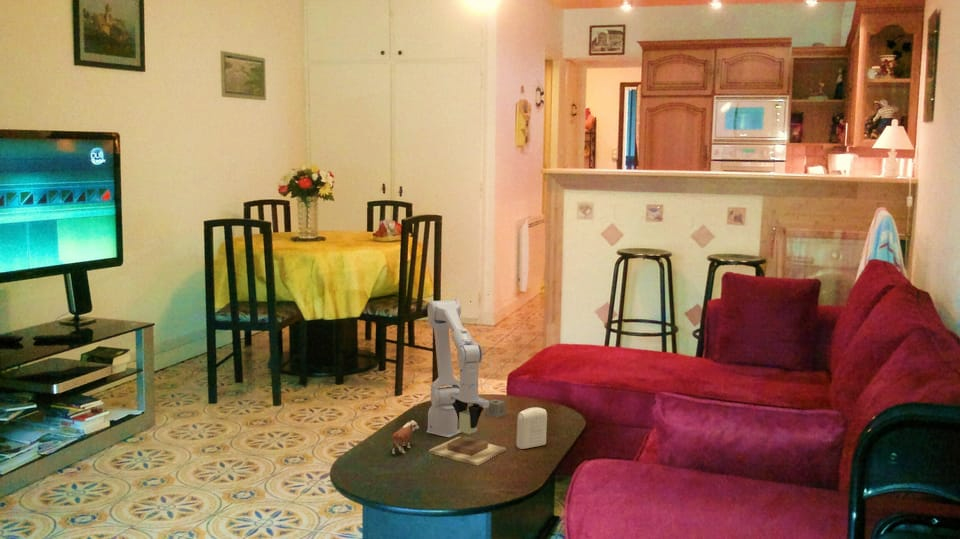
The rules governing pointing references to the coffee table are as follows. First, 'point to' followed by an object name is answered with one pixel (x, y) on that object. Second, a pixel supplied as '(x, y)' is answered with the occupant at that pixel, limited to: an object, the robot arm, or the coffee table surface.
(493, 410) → the dice cube
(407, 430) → the bull figurine
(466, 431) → the sage block
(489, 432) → the coffee table surface
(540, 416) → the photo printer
